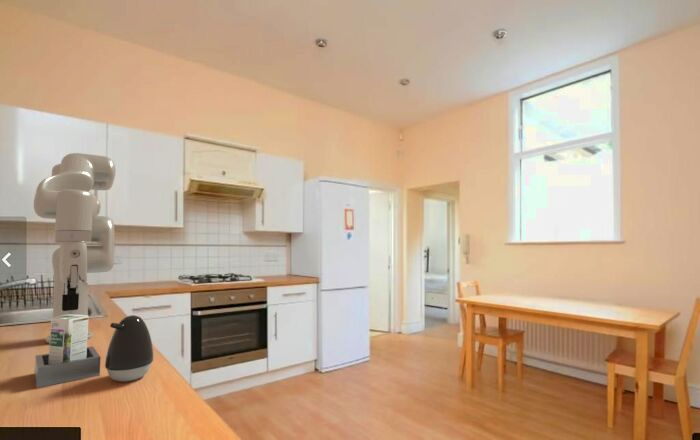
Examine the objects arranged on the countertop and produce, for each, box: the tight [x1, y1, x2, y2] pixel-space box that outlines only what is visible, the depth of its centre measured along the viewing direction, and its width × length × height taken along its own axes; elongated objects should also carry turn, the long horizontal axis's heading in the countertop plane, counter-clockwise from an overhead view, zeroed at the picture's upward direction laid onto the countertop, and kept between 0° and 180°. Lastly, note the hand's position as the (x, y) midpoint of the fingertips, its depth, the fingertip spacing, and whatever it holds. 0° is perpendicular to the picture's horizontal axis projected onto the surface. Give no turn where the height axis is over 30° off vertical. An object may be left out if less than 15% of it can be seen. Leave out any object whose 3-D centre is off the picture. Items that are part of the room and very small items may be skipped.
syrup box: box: [48, 314, 90, 365], centre depth 92 cm, size 6×6×14 cm
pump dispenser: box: [104, 315, 154, 383], centre depth 90 cm, size 10×10×15 cm
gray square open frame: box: [34, 346, 101, 389], centre depth 91 cm, size 12×12×4 cm
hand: (70, 309), depth 92 cm, fingers closed
